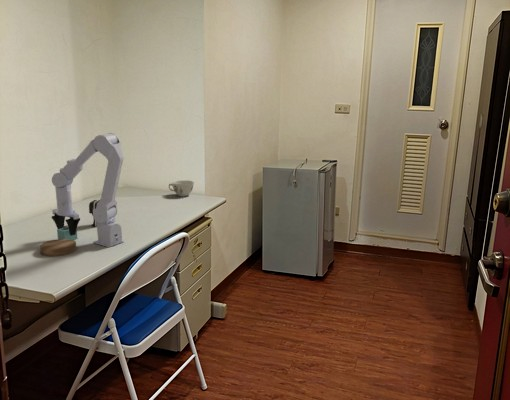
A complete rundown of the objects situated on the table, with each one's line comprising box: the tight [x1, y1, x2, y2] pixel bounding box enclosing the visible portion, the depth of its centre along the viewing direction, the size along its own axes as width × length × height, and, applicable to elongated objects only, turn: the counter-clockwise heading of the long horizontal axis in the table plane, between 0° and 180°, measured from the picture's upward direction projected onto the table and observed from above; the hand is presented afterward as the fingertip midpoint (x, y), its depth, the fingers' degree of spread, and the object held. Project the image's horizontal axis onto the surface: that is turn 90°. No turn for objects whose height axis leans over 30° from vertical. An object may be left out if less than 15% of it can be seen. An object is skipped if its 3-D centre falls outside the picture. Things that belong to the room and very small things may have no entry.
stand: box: [39, 238, 77, 257], centre depth 184 cm, size 13×13×2 cm
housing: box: [56, 224, 78, 241], centre depth 196 cm, size 4×6×6 cm
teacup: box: [168, 180, 195, 198], centre depth 276 cm, size 15×12×8 cm
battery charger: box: [88, 199, 100, 228], centre depth 217 cm, size 7×4×11 cm, turn 176°
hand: (67, 233), depth 196 cm, fingers open, 7 cm apart
